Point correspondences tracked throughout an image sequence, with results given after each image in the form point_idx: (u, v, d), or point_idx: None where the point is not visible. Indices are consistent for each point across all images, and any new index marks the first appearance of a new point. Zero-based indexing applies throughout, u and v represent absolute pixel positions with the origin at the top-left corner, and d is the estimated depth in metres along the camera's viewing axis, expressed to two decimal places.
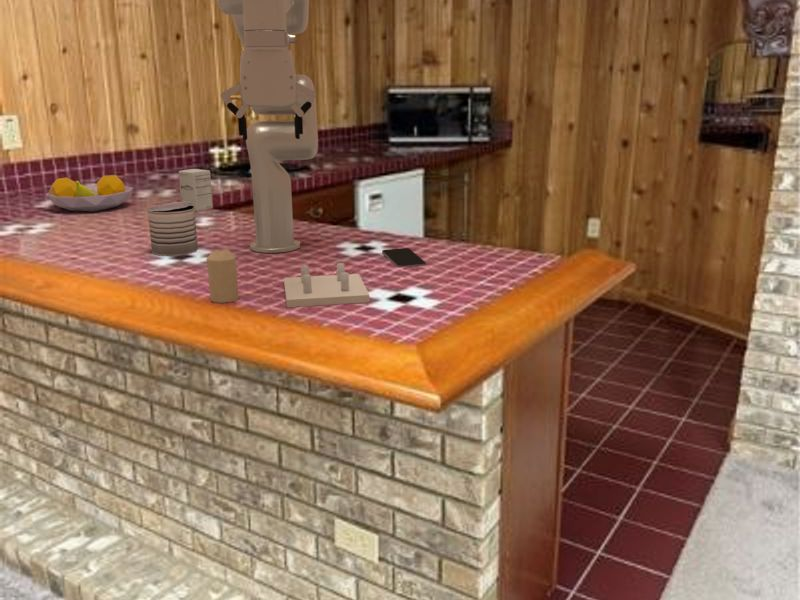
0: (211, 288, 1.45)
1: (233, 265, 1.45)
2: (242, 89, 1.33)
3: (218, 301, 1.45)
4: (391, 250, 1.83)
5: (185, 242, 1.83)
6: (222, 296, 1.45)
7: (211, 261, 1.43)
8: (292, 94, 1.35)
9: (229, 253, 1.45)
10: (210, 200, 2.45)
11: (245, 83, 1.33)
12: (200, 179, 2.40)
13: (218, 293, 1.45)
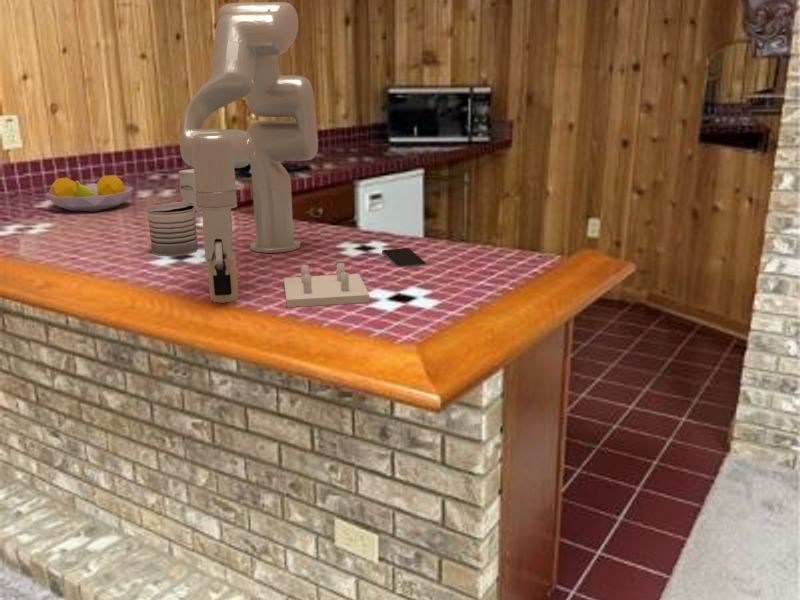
0: (211, 288, 1.45)
1: (233, 265, 1.45)
2: (229, 245, 1.40)
3: (218, 301, 1.45)
4: (391, 250, 1.83)
5: (185, 242, 1.83)
6: (222, 296, 1.45)
7: (211, 261, 1.43)
8: None
9: None
10: None
11: (230, 239, 1.41)
12: None
13: None
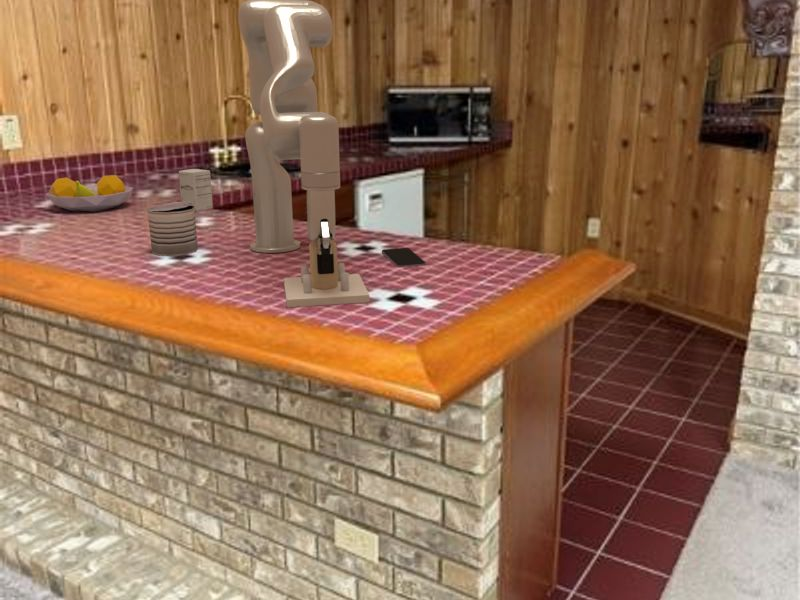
0: (313, 274, 1.48)
1: (335, 252, 1.48)
2: (334, 225, 1.43)
3: (320, 287, 1.48)
4: (391, 250, 1.84)
5: (185, 242, 1.83)
6: (324, 282, 1.48)
7: (314, 248, 1.46)
8: None
9: None
10: (210, 200, 2.45)
11: (334, 219, 1.43)
12: (200, 179, 2.40)
13: (320, 279, 1.48)
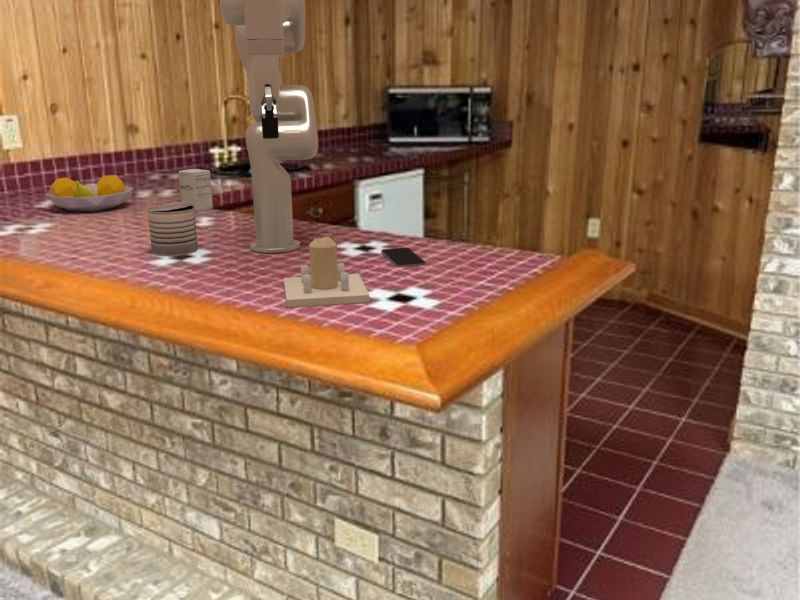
0: (313, 274, 1.48)
1: (334, 252, 1.48)
2: (278, 92, 1.48)
3: (320, 287, 1.48)
4: (390, 250, 1.84)
5: (185, 242, 1.83)
6: (324, 283, 1.48)
7: (314, 248, 1.46)
8: None
9: (331, 240, 1.48)
10: (210, 200, 2.45)
11: (278, 86, 1.48)
12: (200, 179, 2.40)
13: (320, 279, 1.48)
